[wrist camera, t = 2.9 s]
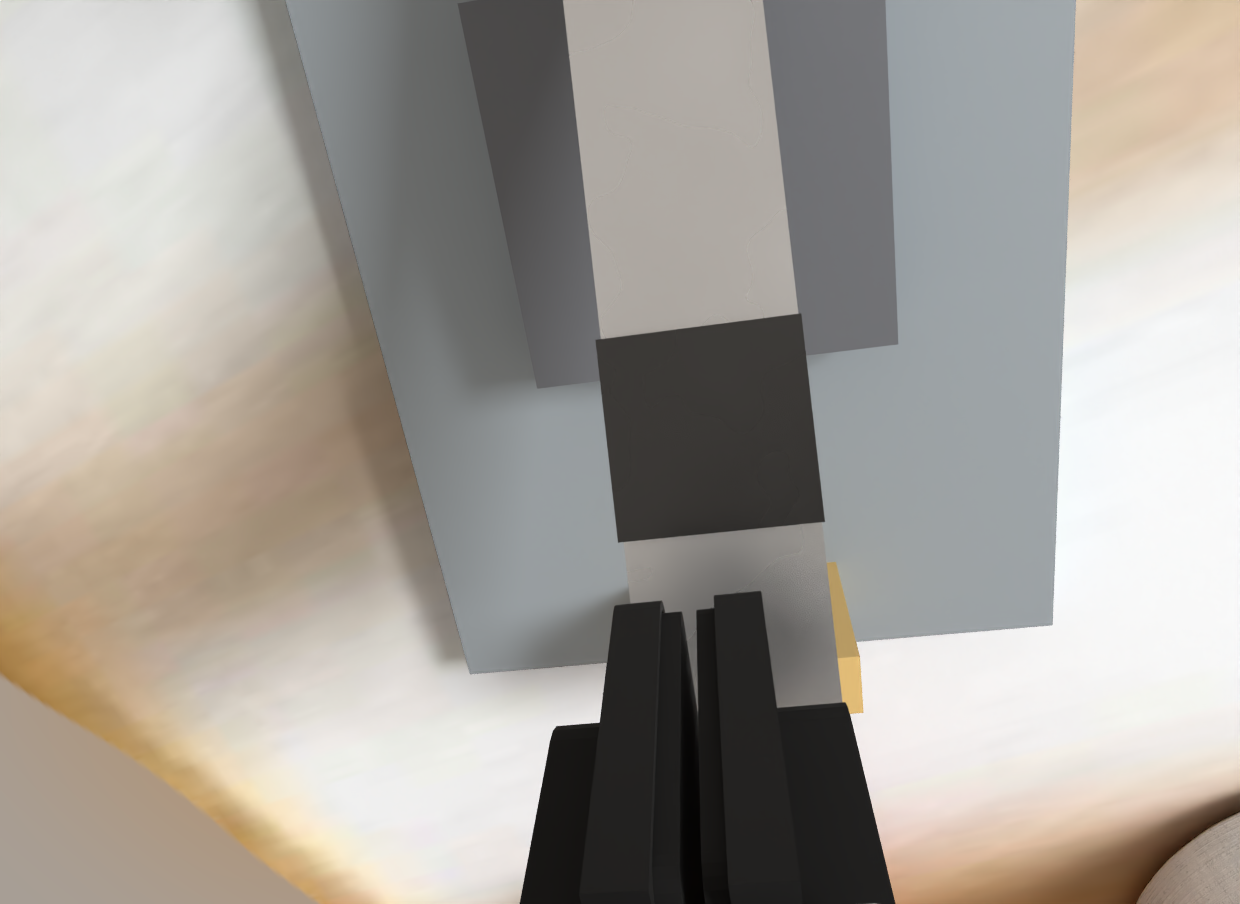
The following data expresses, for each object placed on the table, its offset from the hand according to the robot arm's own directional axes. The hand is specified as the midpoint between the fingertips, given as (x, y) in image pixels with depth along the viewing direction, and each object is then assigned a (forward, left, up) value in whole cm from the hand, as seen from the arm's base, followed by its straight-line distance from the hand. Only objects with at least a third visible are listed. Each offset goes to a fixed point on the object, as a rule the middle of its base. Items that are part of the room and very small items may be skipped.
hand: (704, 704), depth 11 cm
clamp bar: (-5, 0, -8) cm, 9 cm away
